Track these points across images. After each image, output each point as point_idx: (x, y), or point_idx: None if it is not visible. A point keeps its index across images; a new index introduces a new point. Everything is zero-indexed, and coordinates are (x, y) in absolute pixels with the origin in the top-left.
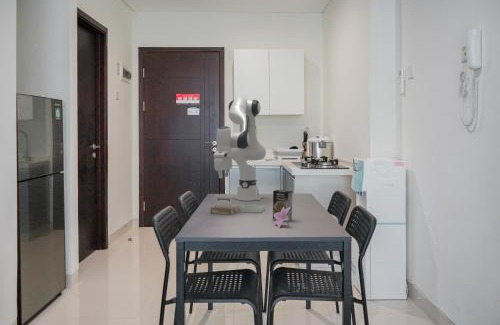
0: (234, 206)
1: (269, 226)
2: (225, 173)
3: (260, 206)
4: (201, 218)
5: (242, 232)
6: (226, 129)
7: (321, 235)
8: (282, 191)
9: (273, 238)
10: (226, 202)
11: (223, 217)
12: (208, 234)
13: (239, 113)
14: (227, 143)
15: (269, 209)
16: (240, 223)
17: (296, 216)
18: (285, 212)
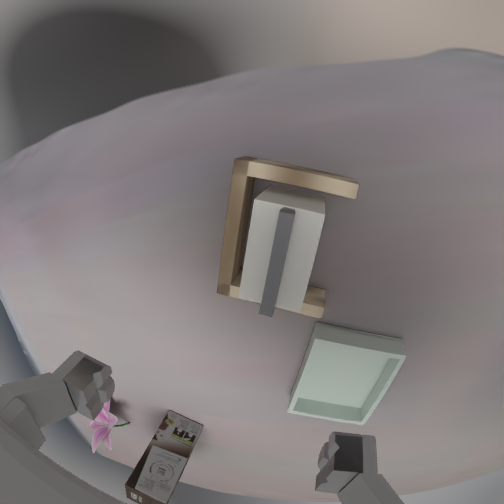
0: (301, 309)
1: None
2: (358, 477)
3: (367, 408)
4: (113, 147)
5: (27, 315)
6: None
7: (85, 432)
8: (128, 494)
9: (29, 363)
10: (241, 280)
11: (156, 248)
12: None
13: None
14: None
15: (380, 419)
16: (89, 318)
17: (245, 462)
18: (98, 437)
